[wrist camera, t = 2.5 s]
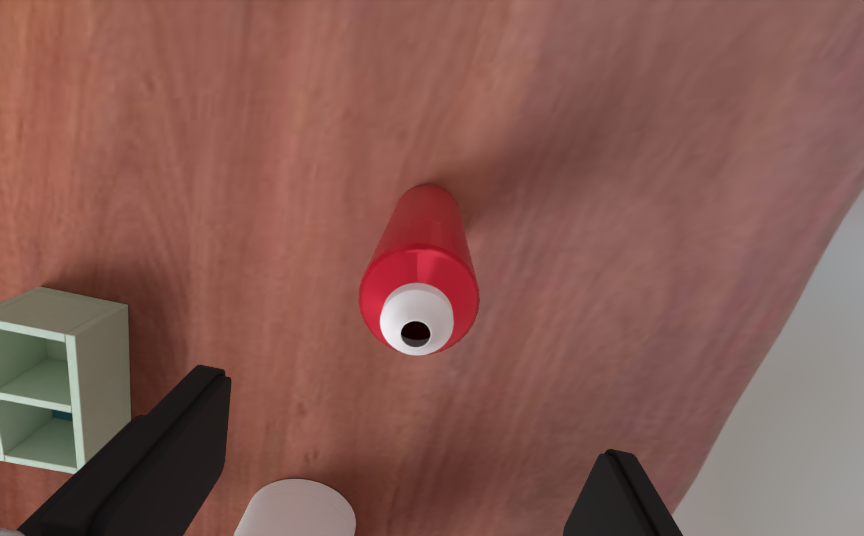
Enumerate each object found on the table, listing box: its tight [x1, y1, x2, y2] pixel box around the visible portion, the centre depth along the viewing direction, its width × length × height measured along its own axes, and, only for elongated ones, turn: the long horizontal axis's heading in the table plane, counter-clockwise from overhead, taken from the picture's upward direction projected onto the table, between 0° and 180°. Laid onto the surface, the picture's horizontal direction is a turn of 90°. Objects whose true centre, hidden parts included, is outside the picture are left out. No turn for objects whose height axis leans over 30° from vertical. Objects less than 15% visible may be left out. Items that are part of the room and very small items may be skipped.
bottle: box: [359, 185, 480, 355], centre depth 25 cm, size 6×6×20 cm
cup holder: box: [0, 286, 131, 474], centre depth 37 cm, size 8×15×6 cm, turn 167°
